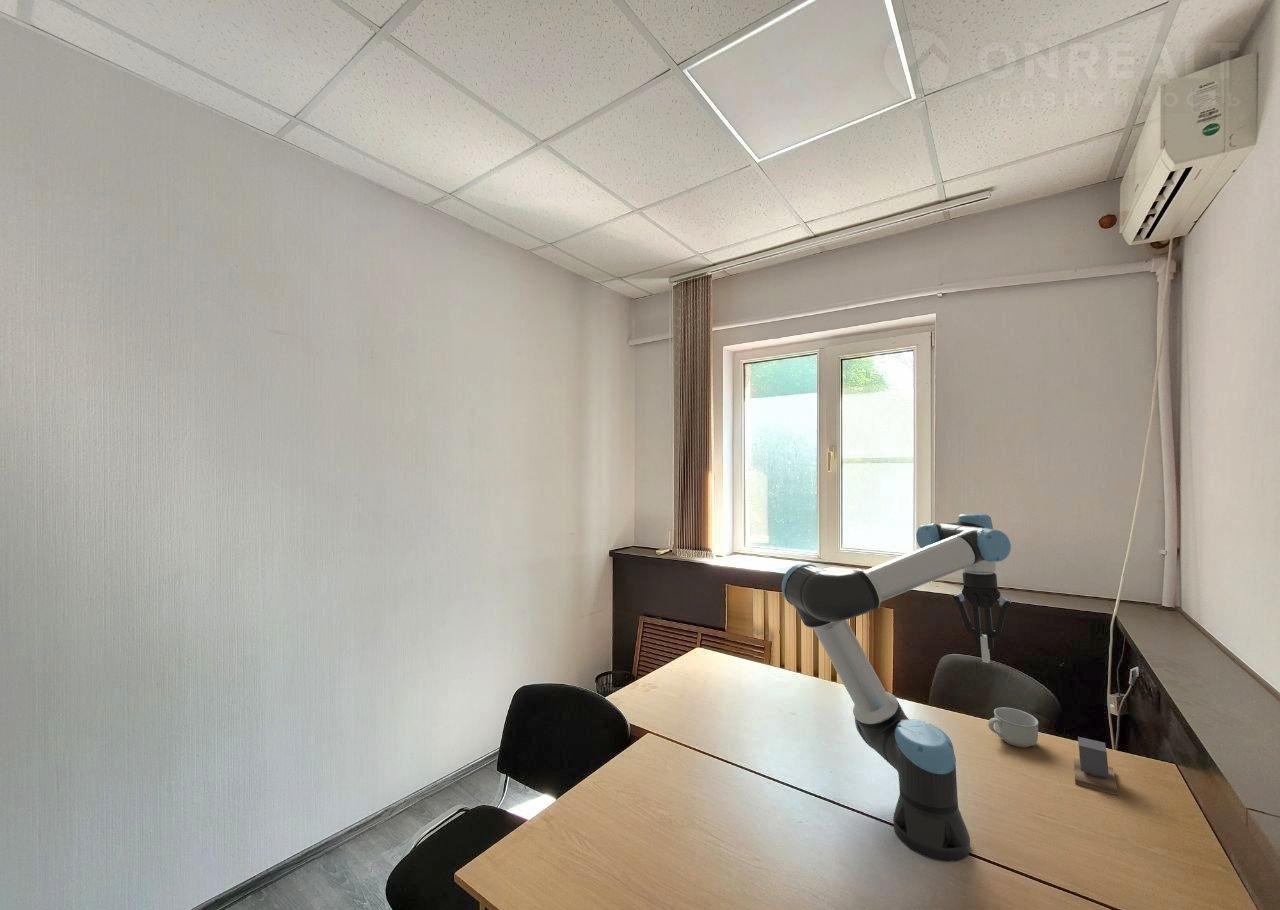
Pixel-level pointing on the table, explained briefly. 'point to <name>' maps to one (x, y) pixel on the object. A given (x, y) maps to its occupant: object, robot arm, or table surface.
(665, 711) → the table surface
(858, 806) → the table surface
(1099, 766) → the grey upright block
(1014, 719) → the teacup
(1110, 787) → the stand
